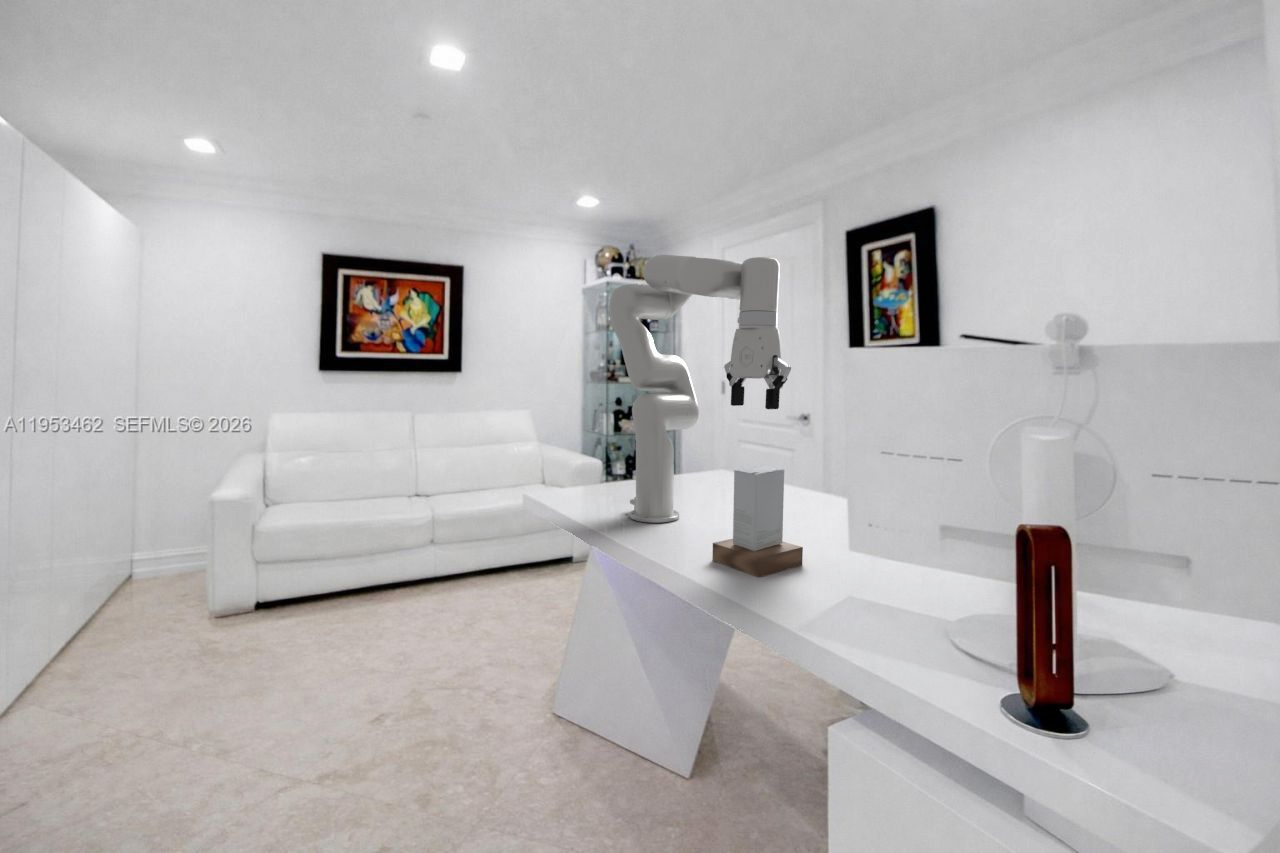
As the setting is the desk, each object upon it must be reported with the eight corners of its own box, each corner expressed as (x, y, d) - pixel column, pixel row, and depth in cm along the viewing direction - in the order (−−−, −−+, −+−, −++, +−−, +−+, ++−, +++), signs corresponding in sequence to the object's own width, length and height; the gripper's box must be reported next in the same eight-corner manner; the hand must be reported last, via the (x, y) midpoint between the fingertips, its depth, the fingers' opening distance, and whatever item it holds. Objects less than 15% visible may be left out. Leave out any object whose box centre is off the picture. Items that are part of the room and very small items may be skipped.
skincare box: (760, 538, 120) (762, 464, 119) (784, 545, 116) (786, 468, 115) (730, 545, 115) (732, 468, 114) (754, 552, 111) (756, 472, 109)
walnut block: (712, 560, 117) (712, 542, 117) (755, 550, 124) (755, 533, 124) (759, 577, 108) (759, 557, 107) (802, 565, 115) (802, 547, 114)
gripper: (714, 322, 125) (711, 404, 127) (777, 318, 111) (773, 411, 113) (740, 324, 130) (737, 403, 131) (804, 321, 116) (800, 410, 117)
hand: (754, 407), depth 122 cm, fingers open, 9 cm apart
